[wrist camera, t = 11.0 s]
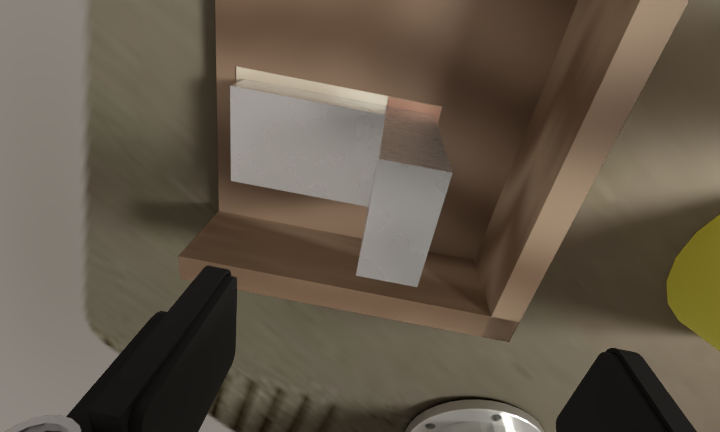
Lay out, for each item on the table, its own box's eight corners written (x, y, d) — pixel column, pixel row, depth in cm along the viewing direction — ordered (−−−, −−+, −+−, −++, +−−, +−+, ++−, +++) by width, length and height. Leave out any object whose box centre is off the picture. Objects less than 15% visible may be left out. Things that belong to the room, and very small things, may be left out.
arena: (486, 273, 25) (509, 342, 20) (225, 222, 25) (180, 278, 20) (706, -240, 14) (897, -396, 8) (220, -338, 14) (109, -557, 8)
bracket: (433, 114, 19) (452, 172, 12) (411, 199, 22) (417, 287, 15) (245, 79, 20) (158, 117, 13) (244, 167, 22) (171, 240, 15)
